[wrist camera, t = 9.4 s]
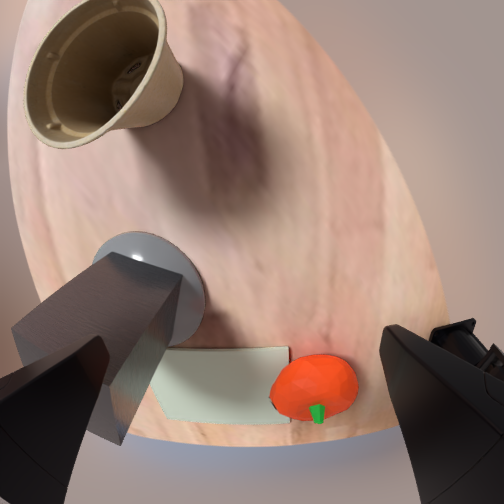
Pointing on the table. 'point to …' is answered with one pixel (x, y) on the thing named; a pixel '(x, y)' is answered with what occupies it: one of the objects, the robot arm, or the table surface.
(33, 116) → the flower pot
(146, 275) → the dark grey square block
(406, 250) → the table surface
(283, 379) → the pumpkin
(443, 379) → the robot arm
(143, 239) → the slate coaster
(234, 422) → the rubber mat
